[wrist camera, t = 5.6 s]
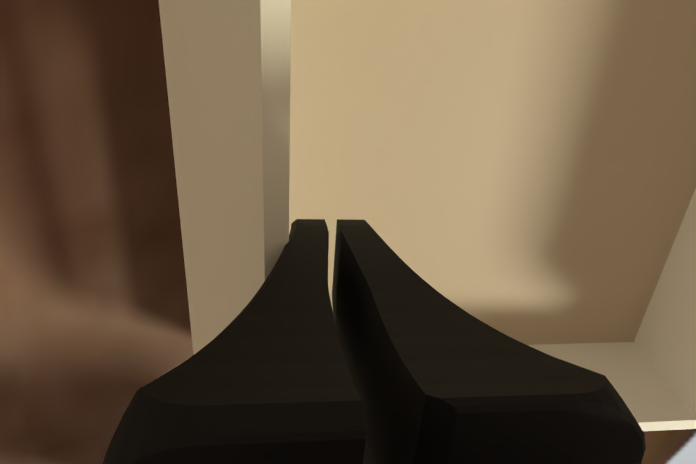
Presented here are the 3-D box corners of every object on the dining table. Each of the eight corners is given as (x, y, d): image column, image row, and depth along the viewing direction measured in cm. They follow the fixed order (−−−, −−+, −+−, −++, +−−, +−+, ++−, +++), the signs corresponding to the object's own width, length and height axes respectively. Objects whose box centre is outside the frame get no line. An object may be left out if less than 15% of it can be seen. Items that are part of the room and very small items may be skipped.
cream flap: (156, -321, 10) (126, -329, 10) (295, -433, 6) (253, -449, 6) (218, 457, 20) (204, 463, 19) (285, 584, 16) (269, 594, 16)
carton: (634, 342, 27) (703, 428, 22) (242, 353, 24) (234, 451, 20) (847, -186, 17) (1047, -217, 12) (216, -250, 14) (190, -313, 10)
